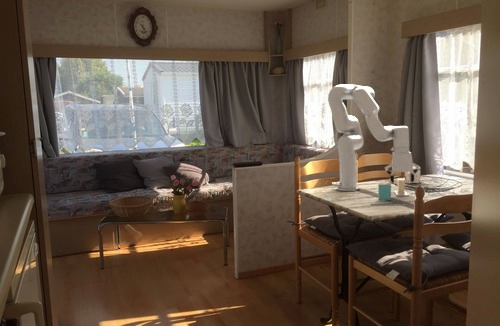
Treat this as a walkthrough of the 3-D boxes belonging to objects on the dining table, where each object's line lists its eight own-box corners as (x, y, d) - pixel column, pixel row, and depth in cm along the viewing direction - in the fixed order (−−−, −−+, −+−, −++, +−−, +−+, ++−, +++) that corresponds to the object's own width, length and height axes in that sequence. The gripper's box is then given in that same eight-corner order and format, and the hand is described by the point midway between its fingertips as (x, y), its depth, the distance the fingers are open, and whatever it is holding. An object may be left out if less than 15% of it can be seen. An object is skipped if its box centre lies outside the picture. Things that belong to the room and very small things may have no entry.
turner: (396, 196, 223) (396, 181, 221) (393, 192, 232) (393, 177, 231) (408, 196, 222) (409, 181, 220) (405, 191, 231) (405, 177, 230)
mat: (371, 206, 208) (371, 205, 207) (367, 199, 223) (367, 198, 223) (405, 206, 205) (405, 205, 205) (399, 198, 221) (399, 197, 220)
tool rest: (393, 198, 222) (393, 197, 221) (389, 193, 234) (389, 191, 234) (413, 198, 220) (413, 196, 220) (408, 192, 233) (408, 191, 232)
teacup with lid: (407, 180, 265) (407, 161, 263) (422, 181, 259) (423, 162, 257) (400, 183, 256) (400, 164, 254) (415, 185, 250) (415, 165, 248)
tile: (378, 200, 218) (378, 184, 216) (378, 199, 219) (378, 184, 218) (391, 199, 217) (390, 184, 215) (390, 199, 218) (390, 183, 217)
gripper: (385, 151, 221) (386, 184, 223) (420, 149, 218) (421, 182, 220) (383, 150, 228) (384, 181, 231) (417, 148, 226) (418, 180, 228)
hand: (402, 182), depth 226 cm, fingers open, 9 cm apart
